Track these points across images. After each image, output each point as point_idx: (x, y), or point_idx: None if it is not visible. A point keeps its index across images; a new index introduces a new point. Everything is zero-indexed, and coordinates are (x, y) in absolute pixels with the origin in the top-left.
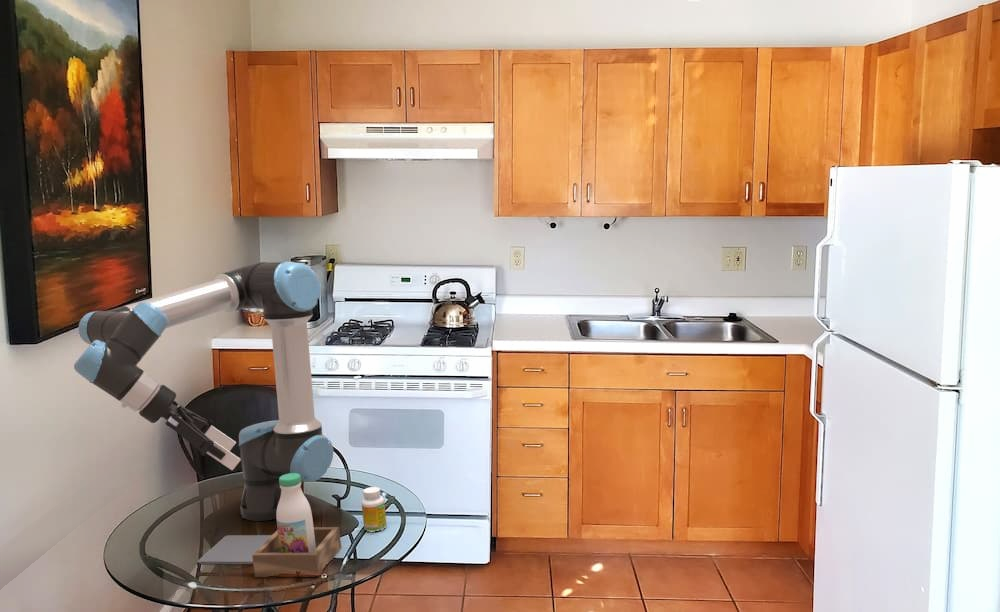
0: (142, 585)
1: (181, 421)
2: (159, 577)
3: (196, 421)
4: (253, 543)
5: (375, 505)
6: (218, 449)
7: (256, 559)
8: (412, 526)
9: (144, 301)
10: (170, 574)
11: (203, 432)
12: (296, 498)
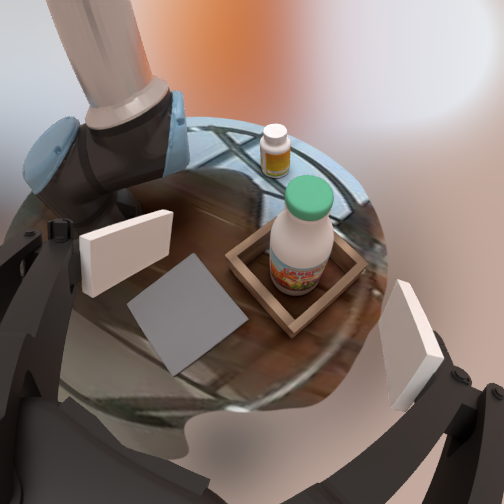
0: (178, 454)
1: None
2: (172, 430)
3: (52, 311)
4: (185, 291)
5: (289, 146)
6: (443, 354)
7: (298, 330)
8: (304, 146)
9: None
10: (175, 416)
11: (75, 285)
12: (328, 219)
